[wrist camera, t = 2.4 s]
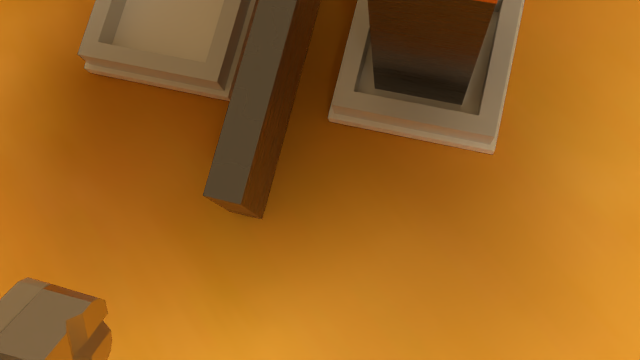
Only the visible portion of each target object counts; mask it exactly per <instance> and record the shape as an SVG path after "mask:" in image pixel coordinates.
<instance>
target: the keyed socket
mask: <svg viewBox="0 0 640 360" xmlns="http://www.w3.org/2000/svg"><path fill="white" fill-rule="evenodd" d="M258 2H259V0H96V1H95V4H94V7H93V10H92V13H91V16H90V19H89V22H88V24H87V27H86V30H85V33H84V36H83V39H82V42H81V45H80V48H79V51H78V55H79V56H80V57H81V58H83V59H84V60H85V61H86V63H85V66H84V69H85V70H87V71H88V72H89V73H93V74H98V75H103V76H108V77H113V78H118V79H123V80H128V81H133V82H138V83H143V84H147V85H152V86H157V87H162V88H167V89H172V90H177V91H182V92H187V93H192V94H197V95H202V96H206V97H211V98H216V99H221V100H226V101H230V99H231V96H232V92H233V89H234V86H235V82H236V79H237V75H238V72H239V68H240V65H241V61H242V58H243V54H244V51H245V47H246V44H247V40H248V37H249V33H250V30H251V26H252V23H253V19H254V16H255V12H256V9H257V6H258Z"/></svg>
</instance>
